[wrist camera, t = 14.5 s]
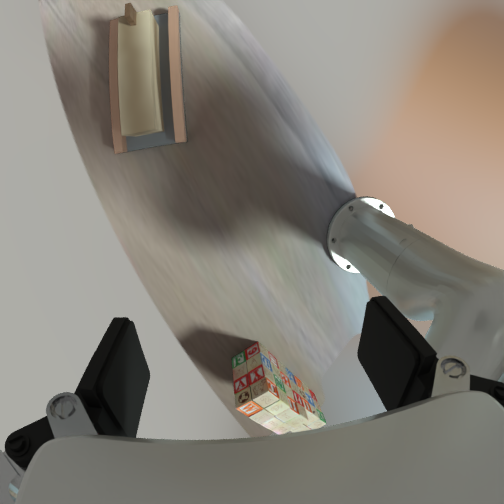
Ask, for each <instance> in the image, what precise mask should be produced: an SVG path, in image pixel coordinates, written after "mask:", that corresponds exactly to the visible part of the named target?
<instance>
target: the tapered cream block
mask: <svg viewBox="0 0 504 504" xmlns="http://www.w3.org/2000/svg"><path fill="white" fill-rule="evenodd" d="M118 91H119V109H120V122H121V134H122V136H134V137H136V136H141V135H147V134H152V133H158V132H164V122H163V110H162V96H161V79H160V56H159V26H158V24H157V22H156V20H155V18H154V16H153V14H152V12H151V10H145V11H141V12H136V11H135V9H134V8H133V6H132V4H131V3H128V4H125V16H121V17H119V20H118Z"/></svg>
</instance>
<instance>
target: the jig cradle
mask: <svg viewBox="0 0 504 504" xmlns="http://www.w3.org/2000/svg"><path fill="white" fill-rule="evenodd" d="M154 18H155V20H156V22H157V24H158V26H159V56H160V79H161V96H162V110H163V122H164V132H158V133H152V134H147V135H141V136H136V137H134V136H122V134H121V122H120V109H119V91H118V20H119V19H118V18H117V19H114V20H110V32H109V90H110V109H111V123H112V134H113V144H114V153H115V154H118V153H124V152H129V151H134V150H139V149H145V148H150V147H156V146H162V145H168V144H175V143H182V142H188V141H187V131H186V119H185V107H184V93H183V78H182V61H181V38H180V13H179V10H178V6H171V7H168V13H165V14H160V15H155V16H154Z"/></svg>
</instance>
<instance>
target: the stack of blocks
mask: <svg viewBox="0 0 504 504" xmlns="http://www.w3.org/2000/svg"><path fill="white" fill-rule="evenodd" d="M232 369H233V380H234V382H233V384H234V394H235V405H236V409H237V410H239V411H240V412H242V413H243V414H245V415H247V416H248V417H249V418H250V419H252V420H254V421H255V422H257V423H259V424H260V425H262V426H264V427H266V428H267V429H269V430H272V431H273V432H275V433H277V434H284V433H286V432H288V431H291V432H293V433H294V432H300V431H306V430H312V429H317V428H320V427H322V426H323V425H325V424H326V421H325V418H324V416H323V413H322V412H321V409H320V406H319V404H318V402H317V399H316V397H315V394H314V393H313V392H312V391H311V390H309V389H308V387H307V386H305V385H304V384H303V383H302V382H301V381H300V380H299V379H298V378H297V377H296V376H294V375H293V374H292V373H291V372H290V371H288V370H287V369H286V368H285V367H284V366H283V365H282V364H281V363H280V362H279V361H277V359H276V358H275V357H274V356H273V355H272V354H271V353H269V352H268V351H267V349H265V348H264V347H263V346H262V345H261V344H260V343H259V342H257V343H255V344H253V345H252V346H250V347H249V348H247V349H246V350H245V351H243V352H241V353H240V354H238V355H237V356H235V357H233V358H232Z"/></svg>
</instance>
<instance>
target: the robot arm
mask: <svg viewBox="0 0 504 504" xmlns="http://www.w3.org/2000/svg"><path fill="white" fill-rule="evenodd" d="M379 205H380V206H379ZM349 206H350V208H349ZM348 208H349V209H348ZM332 238H333V240H332ZM327 245H328V250H329V253H330V255H331V257H332V259H333V260H334V261H335V263H336V264H337V265H338V266H339V267H341V268H342V269H344V270H345V271H348V272H352V273H361V274H362V275H363V276H364V277H365V278H366V279H367V280H368V281H369V282H370V283H371V284H372V285H373V286H374V287H375V288H376V289H377V290H378V291H379V292H380V293H381V294H382V295H383V296H378V297H372V298H371V300H370V301H369V302H367V305H366V311H365V317H364V322H363V327H362V333H361V338H360V342H359V347H358V359H359V361H360V363H361V365H362V366H363V368H364V370H365V372H366V374H367V375H368V377H369V379H370V381H371V382H372V384H373V386H374V388H375V390H376V392H377V393H378V395H379V397H380V399H381V401H382V403H383V404H384V406H385V408H386V410H387V412H383V413H380V414H377V415H373V416H370V417H366V418H362V419H358V420H354V421H350V422H346V423H341V424H337V425H333V426H328V427H322V428H317V429H312V430H306V431H300V432H294V433H287V434H279V435H271V436H262V437H252V438H239V439H221V440H165V439H145V438H136V434H137V430H138V425H139V421H140V416H141V412H142V408H143V404H144V399H145V395H146V391H147V387H148V383H149V380H150V371H149V368H148V365H147V362H146V360H145V357H144V354H143V351H142V348H141V345H140V341H139V338H138V335H137V332H136V329H135V325H134V323H133V321H130V320H129V319H128V318H126V317H123V318H114V319H113V320H112V322H111V324H110V326H109V327H108V329H107V331H106V333H105V334H104V336H103V338H102V340H101V342H100V344H99V346H98V348H97V350H96V351H95V353H94V355H93V357H92V358H91V360H90V362H89V365H88V366H87V368H86V370H85V372H84V374H83V377H82V378H81V381H80V383H79V385H78V387H77V389H76V391H75V393H74V394H73V393H69V392H64V393H60V394H58V395H56V396H54V397H53V398H52V399H51V400H50V401H49V403H48V405H47V408H46V413H47V416H46V417H44V418H42V419H40V420H38V421H35V422H33V423H31V424H29V425H27V426H25V427H23V428H21V429H19V430H17V431H15V432H13V433H11V434H10V435H9V436H8V438H7V440H6V442H5V452H2V451H1V450H0V504H504V270H502V269H499V268H496V267H494V266H491V265H488V264H486V263H483V262H480V261H478V260H475V259H473V258H471V257H468V256H466V255H464V254H462V253H460V252H458V251H456V250H454V249H452V248H450V247H448V246H446V245H445V244H443V243H441V242H439V241H437V240H436V239H434V238H432V237H430V236H428V235H426V234H425V233H423V232H421V231H419V230H417V229H415V228H414V227H413V225H412V224H411V225H407V224H406V223H404V222H402V221H400V220H397V219H396V218H395V217H394V214H393V212H392V211H391V209H390V208H389V206H387V205H386V204H385V203H384V202H382V201H381V200H379V199H376V198H373V197H368V196H367V197H359V198H355V199H352V200H350V201H348V202H347V203H346V204H344V205H343V206H342V207H341V208H340V209H339V210H338V211H337V212H336V214H335V215H334V217H333V218H332V221H331V223H330V225H329V229H328V233H327ZM406 317H407V318H409V319H412V320H418V321H427V320H433V322H432V324H431V326H430V328H429V330H428V332H427V334H426V336H425V338H423V336H422V335H421V334H420V333H419V332H418V331H417V330H416V328H415V327H414V326H413V325H412V324H411V323H410V322H409V321H408V320H407V318H406Z"/></svg>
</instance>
